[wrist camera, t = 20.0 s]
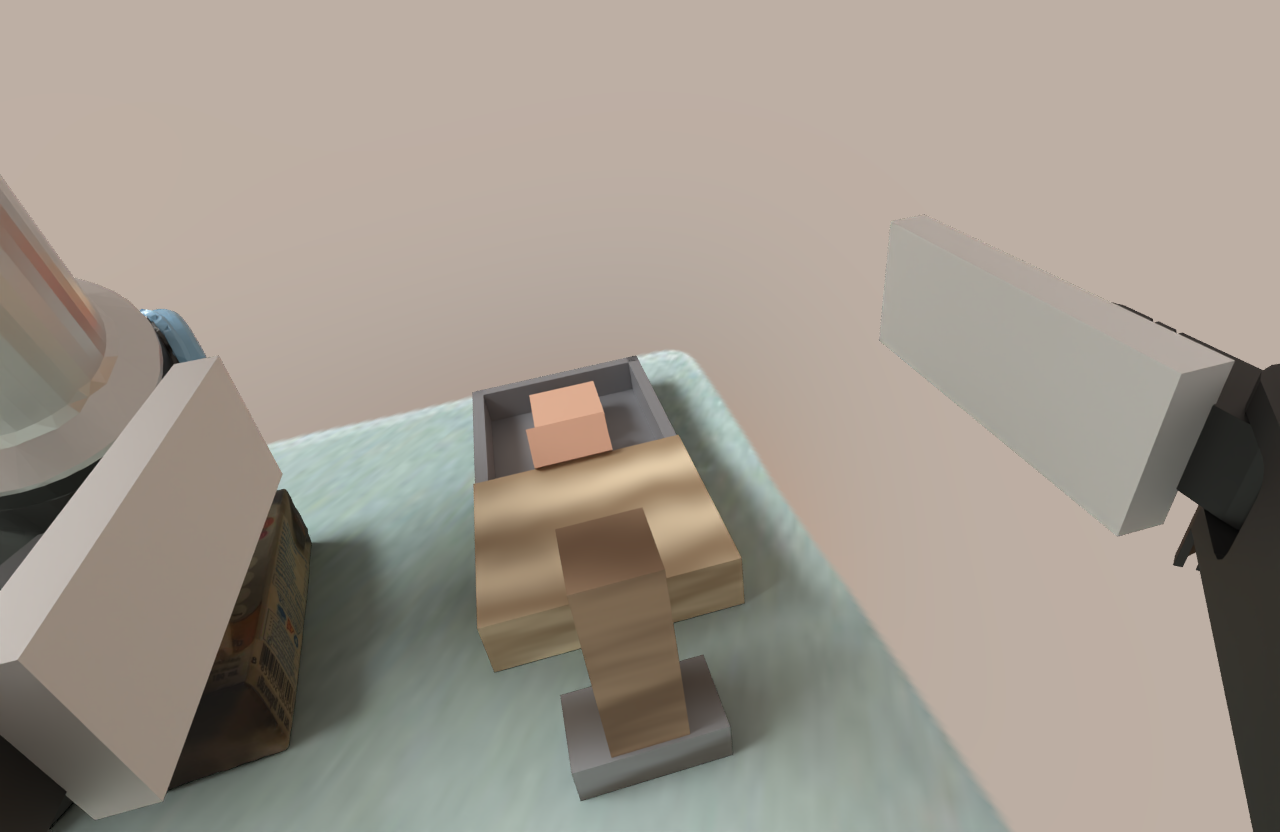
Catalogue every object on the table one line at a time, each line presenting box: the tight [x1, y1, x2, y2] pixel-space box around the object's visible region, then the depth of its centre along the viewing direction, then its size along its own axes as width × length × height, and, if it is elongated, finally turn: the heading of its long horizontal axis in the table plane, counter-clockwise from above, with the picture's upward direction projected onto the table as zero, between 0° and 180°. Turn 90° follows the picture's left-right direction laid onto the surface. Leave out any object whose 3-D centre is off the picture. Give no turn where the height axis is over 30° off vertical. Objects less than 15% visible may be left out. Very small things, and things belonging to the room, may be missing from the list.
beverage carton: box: [167, 489, 312, 790], centre depth 43 cm, size 8×19×7 cm, turn 20°
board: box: [474, 435, 745, 672], centre depth 46 cm, size 14×16×4 cm
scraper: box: [555, 507, 733, 801], centre depth 32 cm, size 4×8×14 cm, turn 103°
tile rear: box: [529, 381, 607, 427], centre depth 59 cm, size 6×6×3 cm
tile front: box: [526, 412, 613, 469], centre depth 53 cm, size 6×6×3 cm
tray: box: [472, 356, 676, 484], centre depth 58 cm, size 15×16×4 cm
